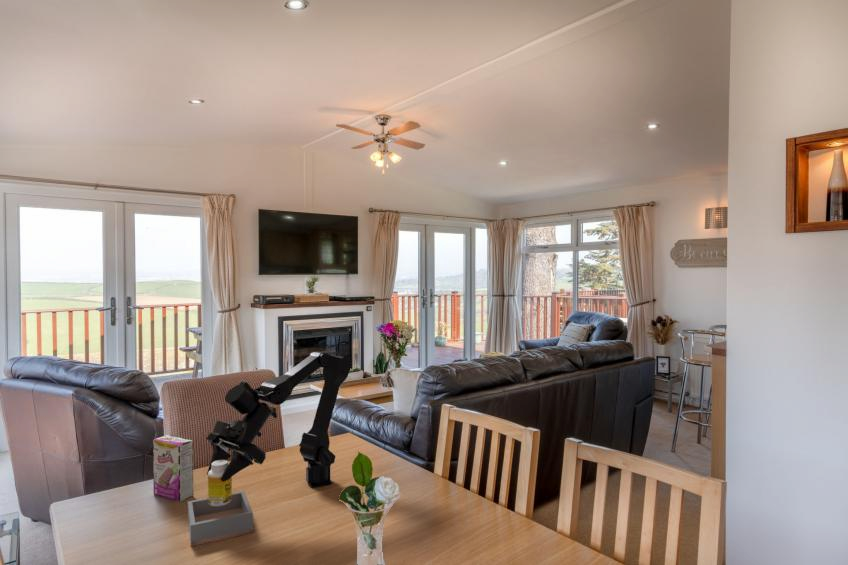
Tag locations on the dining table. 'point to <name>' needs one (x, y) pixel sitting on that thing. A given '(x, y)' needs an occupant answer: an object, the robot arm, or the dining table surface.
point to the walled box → (219, 519)
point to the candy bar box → (173, 467)
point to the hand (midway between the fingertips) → (215, 478)
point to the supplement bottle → (219, 484)
